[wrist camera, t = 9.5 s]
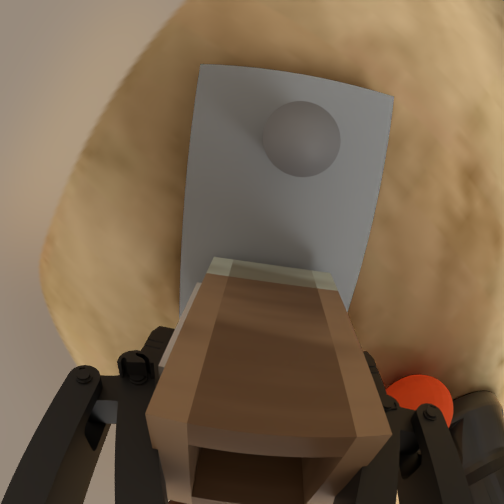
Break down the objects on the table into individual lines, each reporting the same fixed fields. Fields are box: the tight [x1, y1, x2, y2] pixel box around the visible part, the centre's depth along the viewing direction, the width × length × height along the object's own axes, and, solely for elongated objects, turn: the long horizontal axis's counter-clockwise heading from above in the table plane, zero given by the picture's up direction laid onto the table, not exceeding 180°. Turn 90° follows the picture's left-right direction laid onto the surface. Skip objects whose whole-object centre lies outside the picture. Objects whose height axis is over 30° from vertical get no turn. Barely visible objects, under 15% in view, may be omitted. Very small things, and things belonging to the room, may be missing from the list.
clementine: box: [386, 375, 453, 428], centre depth 19 cm, size 8×7×7 cm
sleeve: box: [145, 257, 392, 504], centre depth 12 cm, size 6×6×10 cm
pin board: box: [179, 64, 394, 319], centre depth 14 cm, size 16×10×7 cm, turn 173°
